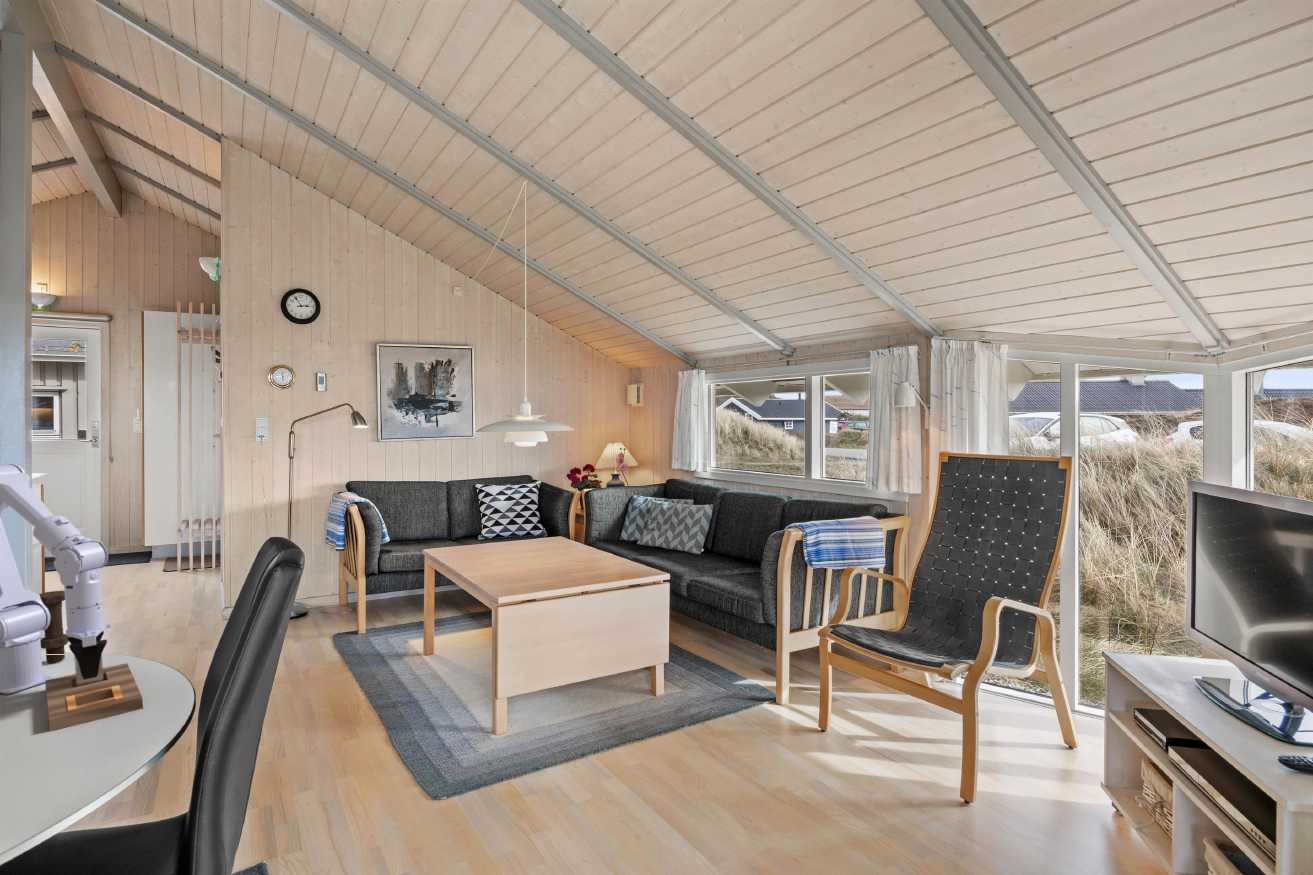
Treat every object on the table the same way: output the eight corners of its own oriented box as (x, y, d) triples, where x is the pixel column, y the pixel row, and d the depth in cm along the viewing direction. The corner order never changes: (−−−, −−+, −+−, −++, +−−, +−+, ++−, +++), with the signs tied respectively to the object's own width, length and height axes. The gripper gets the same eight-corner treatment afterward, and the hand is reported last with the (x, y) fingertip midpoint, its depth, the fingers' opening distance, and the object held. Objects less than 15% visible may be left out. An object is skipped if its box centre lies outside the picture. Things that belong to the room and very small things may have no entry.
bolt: (78, 657, 159) (73, 590, 158) (57, 665, 154) (52, 596, 153) (54, 657, 160) (49, 590, 159) (32, 665, 155) (27, 596, 154)
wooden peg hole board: (45, 690, 141) (45, 679, 141) (127, 672, 149) (127, 661, 149) (50, 731, 123) (49, 718, 123) (143, 707, 132) (142, 696, 131)
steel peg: (76, 689, 141) (73, 649, 140) (102, 684, 143) (99, 644, 143) (77, 695, 138) (75, 654, 137) (104, 689, 140) (101, 649, 140)
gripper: (114, 608, 137) (118, 678, 138) (106, 593, 148) (111, 658, 149) (66, 616, 132) (71, 688, 133) (62, 600, 143) (67, 667, 144)
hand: (89, 673), depth 140 cm, fingers open, 5 cm apart
